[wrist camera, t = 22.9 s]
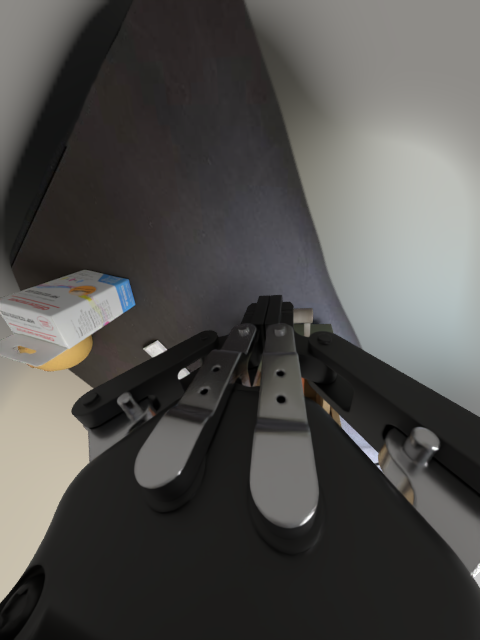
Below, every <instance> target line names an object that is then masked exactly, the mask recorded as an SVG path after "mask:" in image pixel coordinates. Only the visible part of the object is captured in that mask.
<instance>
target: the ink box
mask: <svg viewBox="0 0 480 640" xmlns="http://www.w3.org/2000/svg"><path fill="white" fill-rule="evenodd" d="M133 306H135V301H134V297H133V294H132V290H131V286H130V283H129V279H125V278H120V277H115V276H111V275H107V274H102V273H98V272H93V271H89V270H82V271H79V272H76V273H73V274H70V275H67V276H64V277H61V278H58V279H55V280H52V281H49V282H46V283H44V284H41V285H38V286H35V287H32V288H29V289H25V290H23V291H20V292H17V293H14V294H11V295H8V296H5V297H2V298H0V314H1V316H2V317H3V319H4V320H5V321H6V323H7V324H8V325H9V327H10V329H11V330H12V332H13V333H14V334H12V335H10V336H8V337H6V338H4V339H2V340H0V356H2V357H5V358H8V359H11V360H15V361H19V362H22V363H25V364H29V365H32V366H35V367H38V366H41V365H43V364H45V363H47V362H48V361H50V360H51V359H53V358H55V357H56V356H58V355H60V354H61V353H63V352H64V351H66V350H67V349H70V348H72V347H73V346H75V345H76V344H78V343H79V342H81V341H82V340H84V339H85V338H87V337H88V336H90V335H91V334H93V333H94V332H96V331H97V330H99V329H100V328H102V327H103V326H105V325H106V324H108V323H109V322H111V321H112V320H114V319H115V318H117V317H118V316H120V315H121V314H123V313H124V312H126V311H127V310H129V309H130V308H132V307H133ZM17 346H22V347H25V348H29V349H32V350H36V352H35V353H32V354H29V353H18V351H17V350H15V349H14V348H15V347H17Z"/></svg>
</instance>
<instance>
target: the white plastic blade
mask: <svg viewBox="0 0 480 640" xmlns="http://www.w3.org/2000/svg"><path fill="white" fill-rule="evenodd" d="M143 349H144V350H145V351H146V352H147V353H148V354H149V355H150V356H151V357H152V358H153V357H155V356H157V355H159V354H161V353H163V352H164V351H166V350H167V349H166V348H165V347H164V346H163V345H162V344H161V343H160V342H159V341H158V340H157V341H155V342H154V343H152V344H150V345H148V346H146V347H145V348H143ZM188 374H190V372H188V370H187V369H186V368H184V369H182V370H181V371H180V372H179V374H178V379H182V378H184V377H185V376H187V375H188Z"/></svg>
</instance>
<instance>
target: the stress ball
mask: <svg viewBox="0 0 480 640" xmlns="http://www.w3.org/2000/svg"><path fill="white" fill-rule="evenodd" d="M92 342H93V340H92V336H91V335H90V336H88V337H87V338H85V339H84V340H82V341H81V342H79V343H78V344H76V345H75V346H73V347H72V348H70V349H67V350H66V351H64V352H63V353H61V354H60V355H58V356H56V357H55V358H53V359H51V360H50V361H48V362H47V363H45V364H43V365H41V366H38V367H35V366H32V365H29V364H27V365H29V366H30V367H32V368H38V369H42V370H44V371H57V370H64V369H68V368H70V367H73V366H75V365H77V364H78V363H80V362H81V361H83V360H84V359H85V358H86V357H87V356H88V354H89V353H90V351H91V348H92ZM18 350H19V351H20V353H29V354H32V353H35V352H36V350H32V349H29V348H25V347H22V346H18Z"/></svg>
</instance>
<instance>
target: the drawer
mask: <svg viewBox="0 0 480 640" xmlns="http://www.w3.org/2000/svg"><path fill="white" fill-rule="evenodd" d="M312 322H313V309H312V308H300V309H294V323H304V324H294V330H295V332H297V333H298V334H300V335H302V336H306V337H309V336H310V335H311V334H312V333H314V332H318V331H327V332H331V333H333V330H332V326H331V324H310V323H312ZM261 365H262V360H261ZM260 377H261V370H260V373H259V377H258V380H257V384H256V386H260ZM304 396H306V397H308V398H310V399H311V400H313V401H315V402H316V403H317V404H319V405H320V406H321V407H322V408H323V409H325V410H326V411H327V413H328V414H329V412H330V405H329V404H328V403H327V402H326V401H325V400H324V399H323V398H322V397H321V396H320V395H319V394H318V393H317V392H316V391H315V390H314V389H313V388H312V387H311V386H310V385H309V384H308V382H307V379H304Z"/></svg>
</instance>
